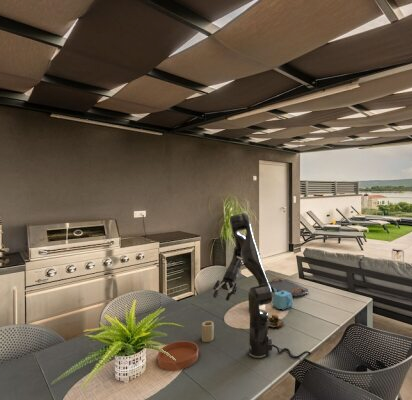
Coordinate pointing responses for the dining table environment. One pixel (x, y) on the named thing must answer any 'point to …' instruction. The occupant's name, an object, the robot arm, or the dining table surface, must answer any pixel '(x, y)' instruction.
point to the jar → (207, 331)
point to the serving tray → (287, 287)
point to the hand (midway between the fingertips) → (220, 298)
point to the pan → (178, 355)
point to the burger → (275, 321)
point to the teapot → (282, 299)
